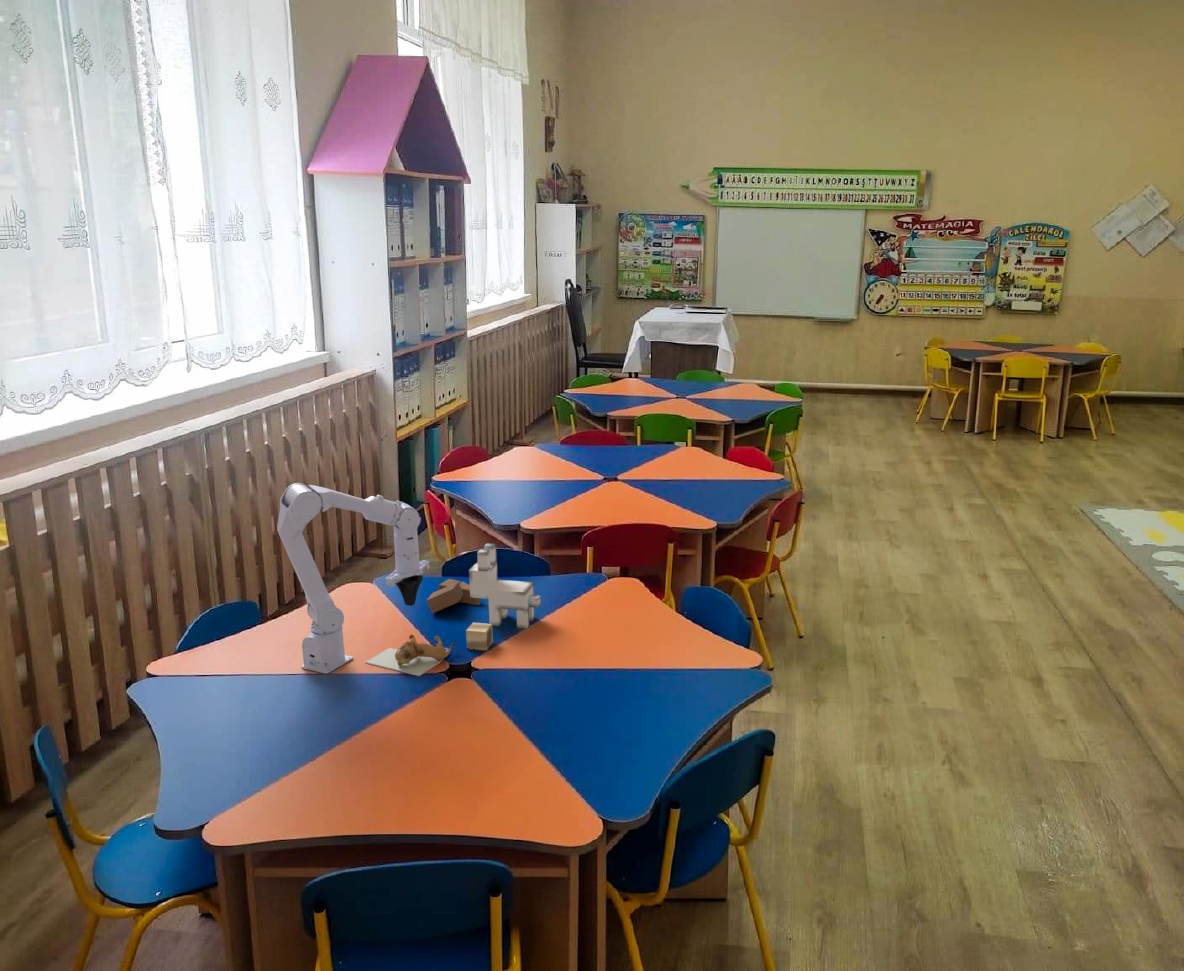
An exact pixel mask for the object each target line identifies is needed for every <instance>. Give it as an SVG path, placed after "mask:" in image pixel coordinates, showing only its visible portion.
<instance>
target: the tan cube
mask: <svg viewBox="0 0 1184 971" xmlns="http://www.w3.org/2000/svg"><path fill="white" fill-rule="evenodd" d="M493 636H494V635H493V626H492V624H490V623H485V622H483V623H482V622H472V623H471V624H470V625H469V626H468V627H467V629H466V630H465V638H466V649H467V648H469V649H468V650H473V649H475V651H485V650H486V651H487V650H488V649H489V648H490V647H491V646H492V644H493V643H494V640H493V639H494V637H493ZM489 646H490V647H489Z"/></svg>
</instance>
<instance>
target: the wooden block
mask: <svg viewBox="0 0 1184 971" xmlns="http://www.w3.org/2000/svg"><path fill="white" fill-rule="evenodd" d="M437 589H438V590H437V591H434V592H432V593H431V594H430V596H429V597H428V598H427V599H426V604H427V605H428V607H429V609H430V611H431V613H432V614H435V613H437V612H439V611H442V610H444V609H446V608H448V607H450V606H453V605H455V604H458V603H463V604H469V605H473V606H480V605H481V600H482V598H472V597H470V584H468V583H466V582H465V581H461V580H456V579H453V578H448V579H446V580H444V581H443V582H441V583H440V584H438V588H437Z"/></svg>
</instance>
